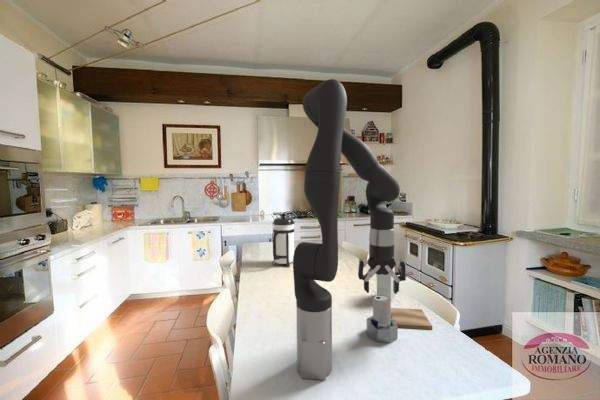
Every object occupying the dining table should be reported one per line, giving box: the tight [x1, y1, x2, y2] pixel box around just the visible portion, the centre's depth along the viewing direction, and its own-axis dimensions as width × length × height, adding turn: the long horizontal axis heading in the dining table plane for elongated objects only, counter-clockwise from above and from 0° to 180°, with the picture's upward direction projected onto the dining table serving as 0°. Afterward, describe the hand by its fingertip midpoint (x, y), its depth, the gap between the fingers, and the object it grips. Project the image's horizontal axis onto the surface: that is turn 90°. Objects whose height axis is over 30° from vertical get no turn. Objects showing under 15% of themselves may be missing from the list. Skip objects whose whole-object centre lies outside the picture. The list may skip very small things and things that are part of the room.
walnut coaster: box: [391, 307, 433, 330], centre depth 98 cm, size 12×12×1 cm
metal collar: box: [365, 315, 399, 344], centre depth 89 cm, size 9×9×4 cm
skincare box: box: [376, 266, 396, 303], centre depth 115 cm, size 8×6×15 cm
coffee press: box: [271, 213, 295, 268], centre depth 162 cm, size 17×16×30 cm
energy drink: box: [372, 294, 392, 328], centre depth 88 cm, size 5×5×12 cm
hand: (381, 292), depth 88 cm, fingers open, 8 cm apart
